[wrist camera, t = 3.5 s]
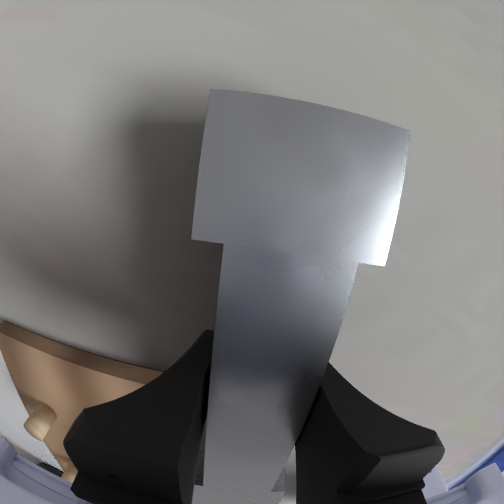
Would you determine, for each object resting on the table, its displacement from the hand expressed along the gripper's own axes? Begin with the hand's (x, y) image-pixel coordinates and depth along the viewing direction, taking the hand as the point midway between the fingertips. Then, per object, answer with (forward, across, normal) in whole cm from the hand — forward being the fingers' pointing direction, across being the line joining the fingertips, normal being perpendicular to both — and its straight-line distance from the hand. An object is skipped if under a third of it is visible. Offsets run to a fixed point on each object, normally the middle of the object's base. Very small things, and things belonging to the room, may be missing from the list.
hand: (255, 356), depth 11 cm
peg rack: (+1, +10, +13) cm, 16 cm away
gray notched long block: (+1, 0, 0) cm, 1 cm away
